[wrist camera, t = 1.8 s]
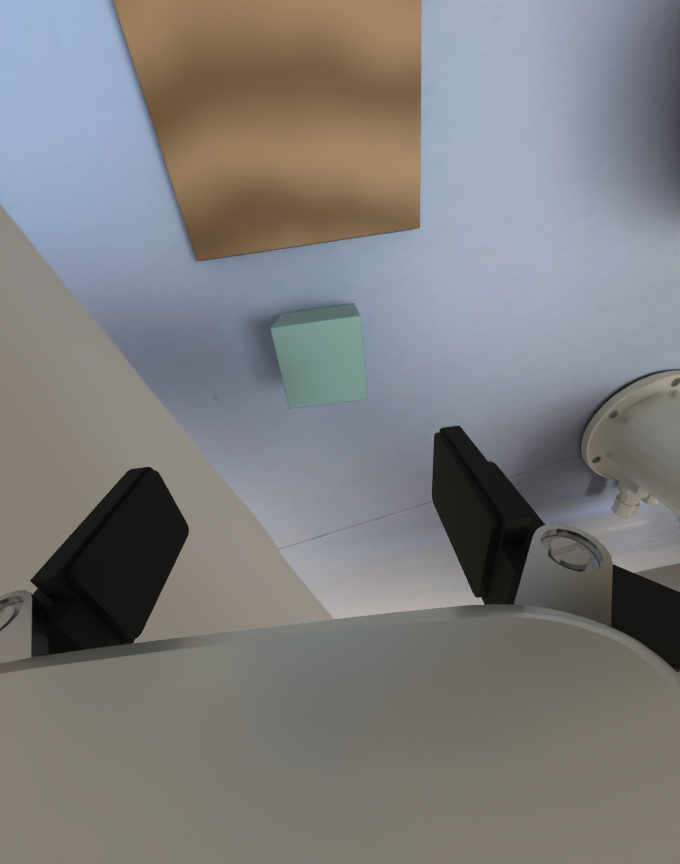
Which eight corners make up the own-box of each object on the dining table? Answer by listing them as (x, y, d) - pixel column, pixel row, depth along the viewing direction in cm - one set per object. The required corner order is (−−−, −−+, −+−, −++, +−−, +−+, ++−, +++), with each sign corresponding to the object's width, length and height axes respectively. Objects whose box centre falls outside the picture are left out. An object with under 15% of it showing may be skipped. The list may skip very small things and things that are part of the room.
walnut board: (414, 229, 22) (419, 227, 21) (204, 260, 23) (196, 260, 22) (414, -137, 15) (422, -174, 14) (100, -76, 15) (79, -106, 14)
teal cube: (360, 372, 28) (367, 398, 23) (296, 380, 28) (289, 408, 23) (353, 303, 25) (360, 315, 20) (282, 313, 25) (270, 328, 20)
